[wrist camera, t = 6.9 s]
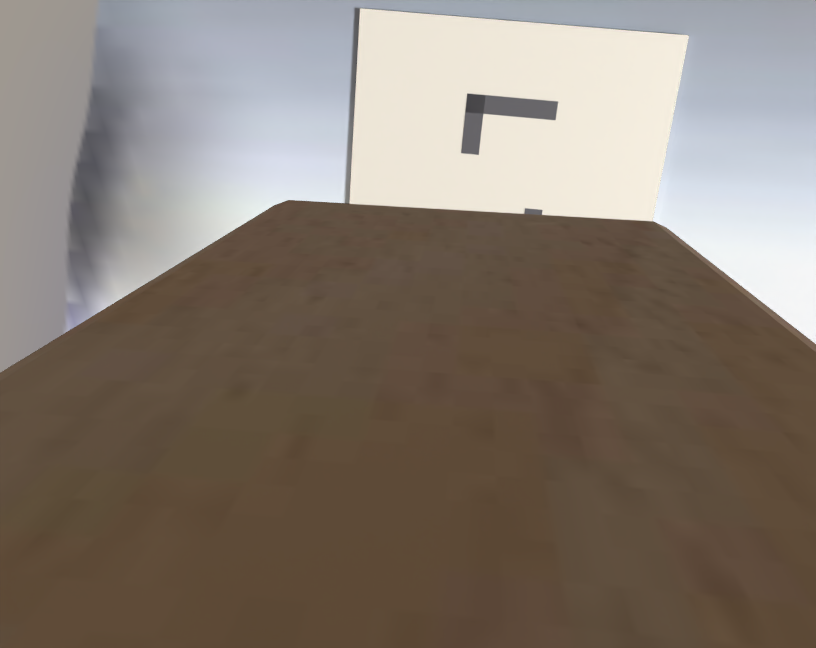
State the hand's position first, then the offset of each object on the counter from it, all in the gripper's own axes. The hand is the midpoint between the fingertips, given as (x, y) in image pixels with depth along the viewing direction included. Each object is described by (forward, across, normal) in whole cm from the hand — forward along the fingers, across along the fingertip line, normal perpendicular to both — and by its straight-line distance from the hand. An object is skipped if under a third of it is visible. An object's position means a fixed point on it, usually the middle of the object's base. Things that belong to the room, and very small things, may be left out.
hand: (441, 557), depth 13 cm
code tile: (+23, +1, +4) cm, 24 cm away
